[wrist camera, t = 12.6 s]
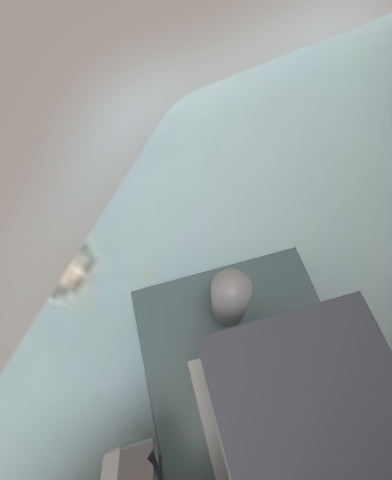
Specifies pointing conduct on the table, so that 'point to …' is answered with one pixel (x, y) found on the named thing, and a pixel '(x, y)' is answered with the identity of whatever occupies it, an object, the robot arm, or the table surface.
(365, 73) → the table surface
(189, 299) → the tray
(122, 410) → the table surface
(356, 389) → the block
